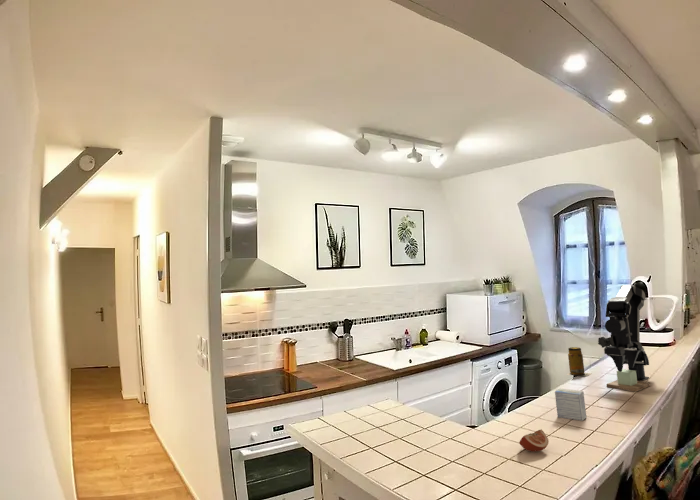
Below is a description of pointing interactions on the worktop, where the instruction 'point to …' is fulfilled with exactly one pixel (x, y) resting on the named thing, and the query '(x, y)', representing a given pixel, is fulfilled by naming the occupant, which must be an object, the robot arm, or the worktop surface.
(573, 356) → the condiment
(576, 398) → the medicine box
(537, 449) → the fruit slice
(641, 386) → the walnut board
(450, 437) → the worktop surface
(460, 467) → the worktop surface
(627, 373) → the sage cube
